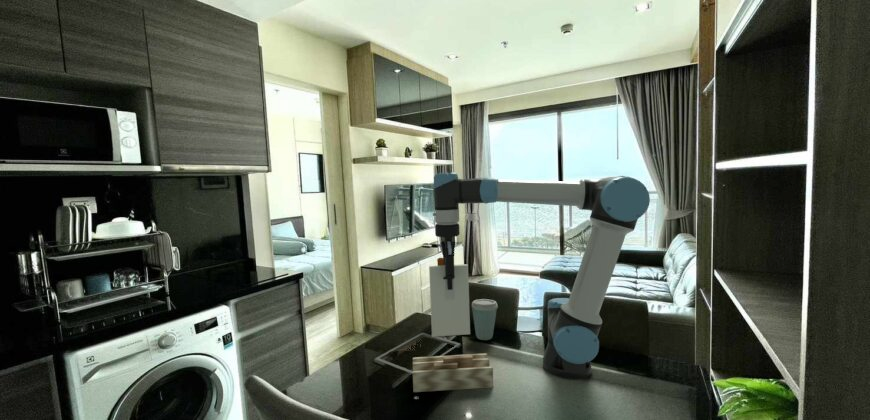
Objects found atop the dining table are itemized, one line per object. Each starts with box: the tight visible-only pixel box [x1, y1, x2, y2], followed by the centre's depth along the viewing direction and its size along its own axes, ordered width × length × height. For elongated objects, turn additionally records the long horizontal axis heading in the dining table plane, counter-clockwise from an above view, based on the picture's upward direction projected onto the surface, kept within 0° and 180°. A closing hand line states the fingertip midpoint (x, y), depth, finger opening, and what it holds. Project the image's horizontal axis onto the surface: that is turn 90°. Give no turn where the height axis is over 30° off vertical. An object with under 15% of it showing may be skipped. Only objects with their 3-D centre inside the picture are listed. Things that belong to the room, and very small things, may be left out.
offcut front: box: [434, 362, 458, 370], centre depth 109 cm, size 7×2×7 cm, turn 93°
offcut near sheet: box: [443, 354, 473, 368], centre depth 111 cm, size 9×2×8 cm, turn 93°
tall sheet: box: [428, 263, 471, 337], centre depth 112 cm, size 12×2×22 cm, turn 93°
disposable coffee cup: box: [471, 298, 499, 341], centre depth 145 cm, size 11×11×15 cm
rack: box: [412, 353, 494, 393], centre depth 111 cm, size 24×9×7 cm, turn 93°
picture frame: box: [373, 332, 462, 375], centre depth 134 cm, size 19×2×30 cm
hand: (449, 297), depth 112 cm, fingers closed on tall sheet, 2 cm apart
